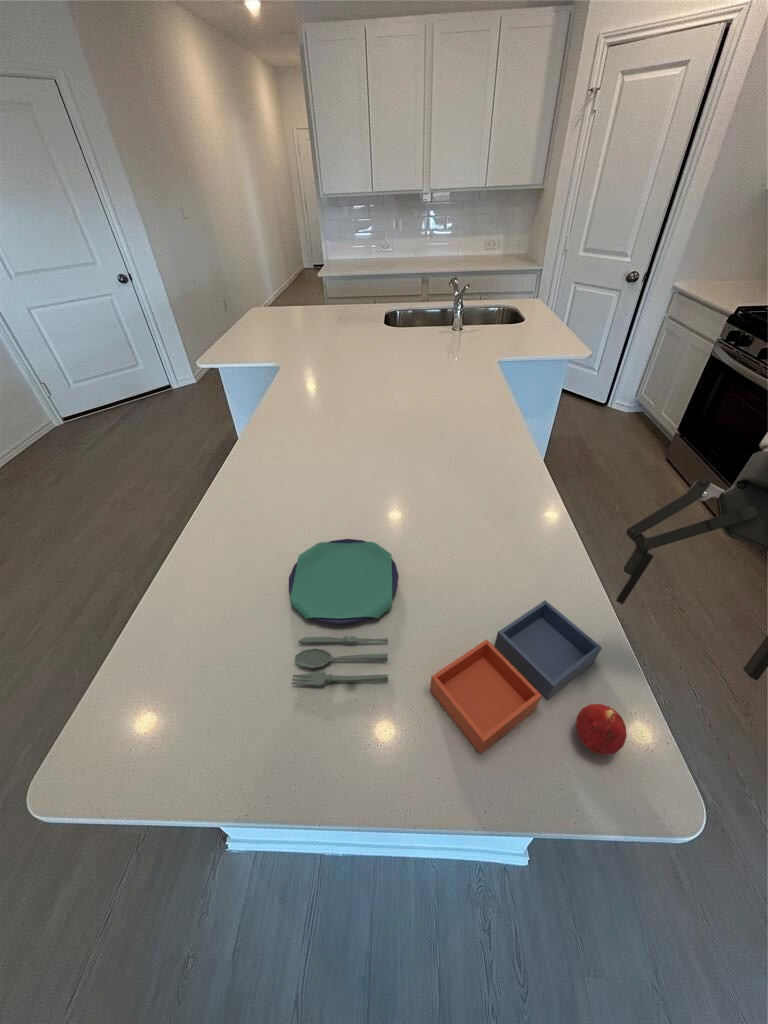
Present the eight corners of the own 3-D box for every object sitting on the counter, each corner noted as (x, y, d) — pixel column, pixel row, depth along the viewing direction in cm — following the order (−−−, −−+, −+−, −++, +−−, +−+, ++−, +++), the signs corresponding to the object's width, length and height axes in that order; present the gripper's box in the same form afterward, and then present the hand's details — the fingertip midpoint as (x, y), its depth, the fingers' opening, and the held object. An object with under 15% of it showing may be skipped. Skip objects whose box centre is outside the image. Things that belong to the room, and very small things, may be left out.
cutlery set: (397, 544, 88) (397, 536, 86) (401, 687, 65) (401, 679, 64) (298, 546, 88) (296, 537, 87) (268, 688, 65) (265, 681, 64)
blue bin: (594, 662, 68) (602, 647, 65) (547, 700, 63) (553, 686, 61) (540, 614, 74) (545, 599, 72) (494, 646, 70) (497, 631, 67)
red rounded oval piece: (616, 770, 56) (639, 745, 51) (569, 755, 58) (586, 729, 52) (614, 726, 60) (634, 698, 55) (570, 713, 62) (585, 684, 56)
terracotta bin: (536, 709, 62) (542, 695, 60) (480, 754, 58) (483, 741, 55) (483, 653, 69) (486, 639, 66) (429, 690, 65) (431, 676, 62)
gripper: (938, 523, 42) (801, 698, 47) (667, 424, 53) (577, 573, 58) (995, 522, 36) (829, 726, 40) (672, 409, 47) (570, 578, 51)
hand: (680, 636), depth 49 cm, fingers open, 13 cm apart
